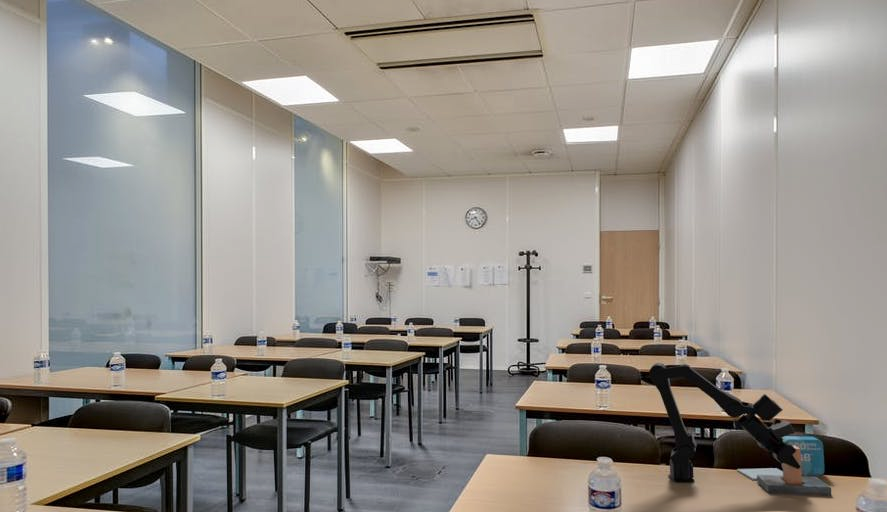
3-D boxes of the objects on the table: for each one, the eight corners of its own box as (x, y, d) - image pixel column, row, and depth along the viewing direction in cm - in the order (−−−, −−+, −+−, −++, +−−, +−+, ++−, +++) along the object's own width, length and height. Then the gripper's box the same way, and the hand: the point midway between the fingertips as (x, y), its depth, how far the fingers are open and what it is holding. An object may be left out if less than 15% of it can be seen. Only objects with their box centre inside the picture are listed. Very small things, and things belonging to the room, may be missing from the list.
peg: (788, 488, 185) (786, 448, 185) (783, 484, 189) (781, 445, 189) (802, 489, 184) (800, 448, 185) (797, 484, 188) (795, 445, 188)
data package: (786, 474, 200) (785, 439, 201) (781, 470, 205) (779, 435, 205) (825, 475, 198) (823, 440, 199) (818, 471, 203) (816, 436, 203)
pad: (752, 480, 195) (752, 478, 195) (737, 470, 205) (737, 469, 205) (793, 479, 195) (793, 477, 195) (776, 469, 205) (776, 468, 205)
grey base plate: (768, 493, 183) (767, 484, 183) (757, 482, 193) (756, 474, 193) (831, 495, 180) (831, 487, 180) (817, 484, 189) (816, 476, 190)
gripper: (787, 419, 179) (828, 456, 176) (765, 406, 197) (802, 440, 195) (761, 444, 180) (801, 482, 177) (741, 429, 198) (778, 463, 196)
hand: (796, 465), depth 186 cm, fingers closed on peg, 4 cm apart
